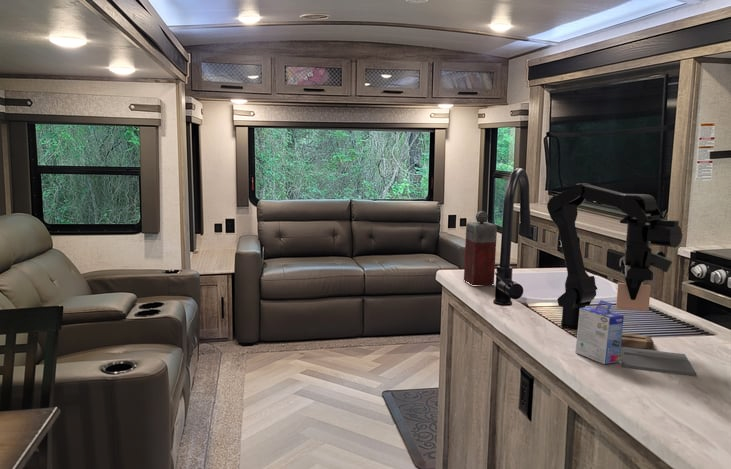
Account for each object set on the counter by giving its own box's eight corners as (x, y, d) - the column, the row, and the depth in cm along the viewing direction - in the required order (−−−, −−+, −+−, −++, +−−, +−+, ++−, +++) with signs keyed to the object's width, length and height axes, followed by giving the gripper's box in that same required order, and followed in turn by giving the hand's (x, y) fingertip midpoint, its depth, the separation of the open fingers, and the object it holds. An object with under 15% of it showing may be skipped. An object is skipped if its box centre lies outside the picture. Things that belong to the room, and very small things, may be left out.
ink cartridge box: (621, 362, 148) (626, 306, 146) (605, 365, 146) (610, 308, 144) (589, 350, 157) (594, 296, 155) (574, 353, 154) (578, 298, 152)
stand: (604, 343, 162) (605, 337, 162) (603, 337, 167) (603, 331, 167) (653, 349, 159) (653, 342, 158) (649, 342, 164) (650, 336, 164)
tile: (616, 308, 162) (618, 283, 161) (615, 307, 163) (617, 282, 162) (648, 311, 159) (650, 286, 158) (647, 310, 160) (650, 285, 159)
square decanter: (482, 279, 237) (485, 209, 233) (494, 285, 227) (498, 212, 222) (461, 279, 236) (464, 209, 231) (472, 286, 225) (475, 212, 220)
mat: (623, 367, 145) (623, 362, 145) (617, 348, 158) (618, 344, 158) (696, 376, 140) (697, 371, 140) (684, 356, 153) (685, 351, 153)
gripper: (678, 249, 147) (672, 311, 149) (665, 238, 165) (659, 293, 167) (629, 246, 150) (623, 306, 153) (621, 236, 168) (617, 290, 170)
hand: (632, 299), depth 161 cm, fingers closed on tile, 1 cm apart
